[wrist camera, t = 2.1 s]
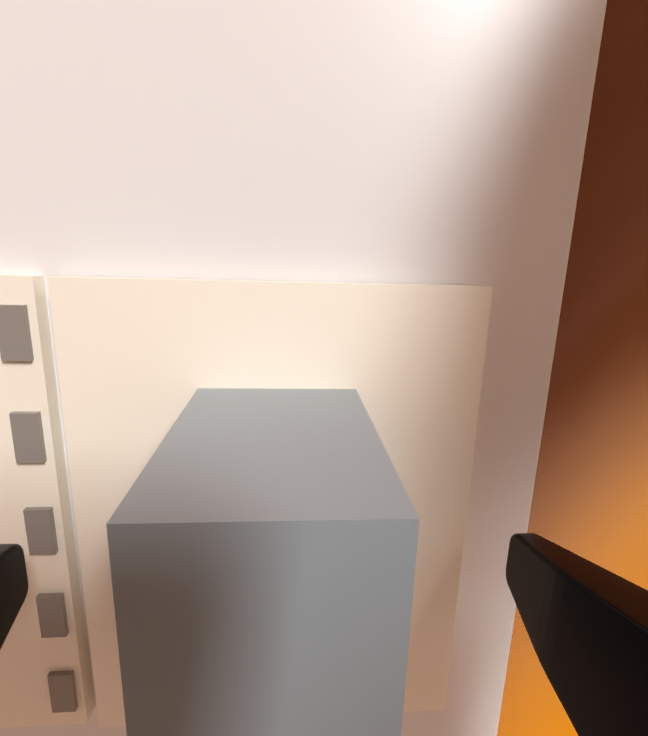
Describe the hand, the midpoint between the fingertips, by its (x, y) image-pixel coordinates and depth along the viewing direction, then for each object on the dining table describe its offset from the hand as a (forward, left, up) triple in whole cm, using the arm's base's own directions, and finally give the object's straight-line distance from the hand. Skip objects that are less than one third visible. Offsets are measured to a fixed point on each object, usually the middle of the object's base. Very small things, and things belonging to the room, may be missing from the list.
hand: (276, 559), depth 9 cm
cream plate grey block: (0, 0, -1) cm, 1 cm away
